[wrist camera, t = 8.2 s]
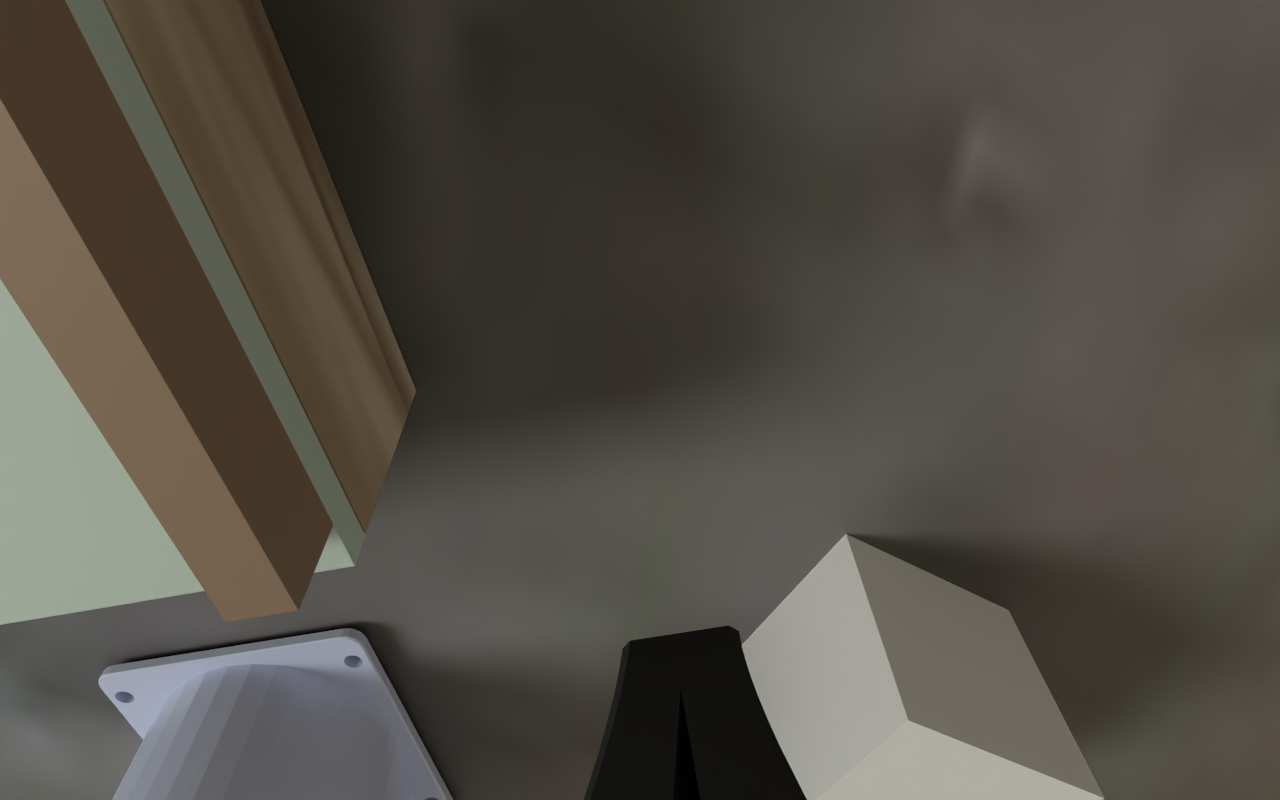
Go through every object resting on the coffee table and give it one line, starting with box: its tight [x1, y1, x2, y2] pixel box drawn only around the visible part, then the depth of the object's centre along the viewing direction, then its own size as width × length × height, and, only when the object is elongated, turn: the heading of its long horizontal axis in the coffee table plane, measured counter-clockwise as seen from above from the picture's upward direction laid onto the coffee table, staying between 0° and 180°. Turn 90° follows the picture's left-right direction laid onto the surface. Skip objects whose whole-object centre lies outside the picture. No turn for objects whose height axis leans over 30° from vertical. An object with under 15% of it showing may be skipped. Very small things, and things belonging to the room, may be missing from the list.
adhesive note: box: [742, 534, 1105, 800], centre depth 23 cm, size 6×6×6 cm
